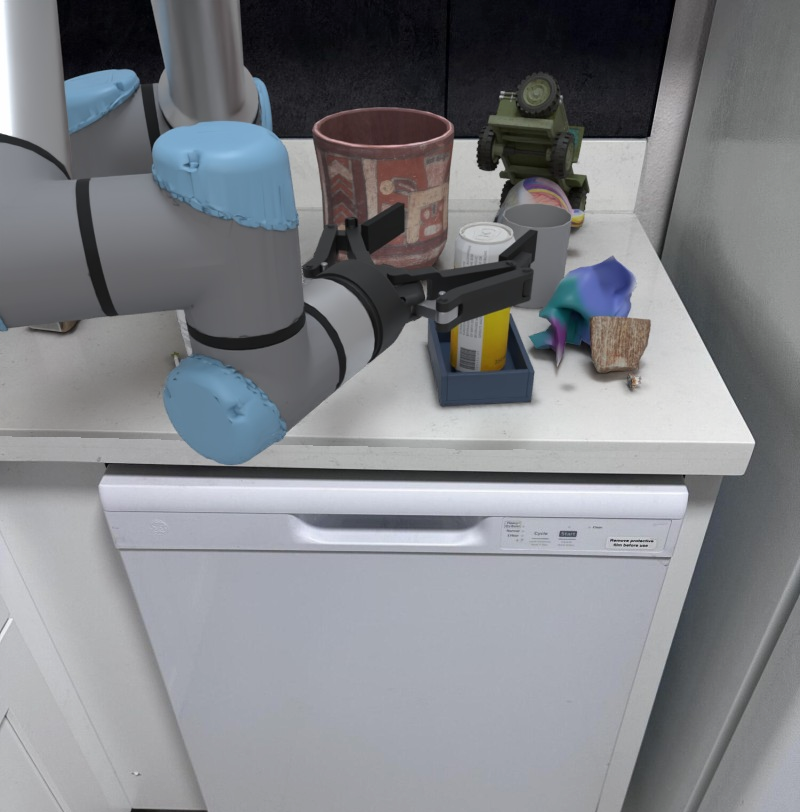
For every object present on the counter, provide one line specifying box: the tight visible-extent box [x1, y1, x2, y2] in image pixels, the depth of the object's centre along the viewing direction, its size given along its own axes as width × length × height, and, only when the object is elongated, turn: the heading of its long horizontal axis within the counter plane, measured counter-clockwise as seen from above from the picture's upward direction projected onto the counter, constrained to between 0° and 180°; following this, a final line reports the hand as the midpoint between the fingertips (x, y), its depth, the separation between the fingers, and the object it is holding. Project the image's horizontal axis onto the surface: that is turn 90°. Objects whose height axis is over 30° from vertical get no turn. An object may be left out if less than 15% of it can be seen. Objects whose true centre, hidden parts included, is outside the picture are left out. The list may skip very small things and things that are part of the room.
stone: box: [589, 316, 652, 374], centre depth 86 cm, size 7×6×5 cm
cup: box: [502, 203, 572, 309], centre depth 99 cm, size 8×8×10 cm
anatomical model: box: [493, 177, 586, 228], centre depth 109 cm, size 10×12×10 cm
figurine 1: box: [528, 255, 639, 368], centre depth 90 cm, size 13×12×9 cm
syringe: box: [170, 350, 180, 367], centre depth 87 cm, size 10×1×1 cm
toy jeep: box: [475, 71, 591, 212], centre depth 110 cm, size 12×25×11 cm
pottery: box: [311, 106, 455, 270], centre depth 103 cm, size 18×18×18 cm
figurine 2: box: [626, 373, 642, 390], centre depth 84 cm, size 8×2×1 cm, turn 94°
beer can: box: [450, 221, 515, 372], centre depth 82 cm, size 6×6×15 cm
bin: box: [427, 312, 536, 407], centre depth 86 cm, size 10×13×4 cm
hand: (464, 230), depth 73 cm, fingers open, 13 cm apart
